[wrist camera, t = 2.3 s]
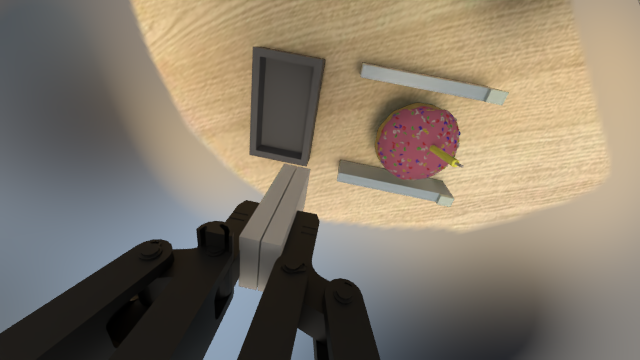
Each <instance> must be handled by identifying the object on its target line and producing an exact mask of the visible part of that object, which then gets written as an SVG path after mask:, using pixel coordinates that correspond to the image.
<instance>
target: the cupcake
mask: <svg viewBox="0 0 640 360" xmlns="http://www.w3.org/2000/svg"><path fill="white" fill-rule="evenodd" d="M456 121H457V119H456V118H454V117H453V115H452V114H451V113H450V112H448V111H447V110H442V109H440V108H438V107H436V106H434V105H431V104H424V103H414V104H410V105H408V106H405V107H403V108H401V109H398V110H396V111H394V112H392V113H391V114H390V115H389V116H388V117H387V119H386V120H385V121H384V122H383V123H382V124H381V126H380V127H379V129H378V132H377V137H376V140H375V149H376V154H377V156H378V159H379V160H380V162H381V163H382V164H383V166H384V167H385V168H386V169H387V170H388V171H389V172H390V173H392V174H393V175H394V176H396V177H398V178H400V179H404V180H408V181H409V180H413V181H415V180H418V179H424V178H425V180H426V179H427V178H428V177H430V176H432V175H435V174H437V173H438V172H440V171H441V170H442V169H445V168H446V167H447V166H448V164H450V165H451V166H453V167H457V166H459V167H464V166H463V165H461V164H459V161H458V160H457V159H455V158H454V157H455V153H456V152H457V148H458V147H459V135H460V134H459V133H460V132H459V129H458V125H457V122H456Z"/></svg>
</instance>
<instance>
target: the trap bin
mask: <svg viewBox="0 0 640 360" xmlns="http://www.w3.org/2000/svg"><path fill="white" fill-rule="evenodd" d="M324 65H325V59H321V58H316V57H311V56H306V55H300V54H295V53H290V52H285V51H280V50H274V49H269V48H264V47H253V62H252V93H251V124H250V155H253V156H258V157H263V158H268V159H273V160H278V161H282V162H287V163H292V164H297V165H302V166H307V164H308V161H309V159H310V153H311V146H312V140H313V134H314V128H315V121H316V115H317V109H318V103H319V96H320V90H321V84H322V78H323V71H324Z"/></svg>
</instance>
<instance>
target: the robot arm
mask: <svg viewBox="0 0 640 360" xmlns="http://www.w3.org/2000/svg"><path fill="white" fill-rule="evenodd" d="M638 1H639V4H640V0H638ZM309 174H310V169H308V168H303V167H297V166H293V165H288V164H284V165H283V167H282V168H281V170H280V172H279V173H278V175H277V176H276V178H275V180H274V181H273V183H272V184H271V186H270V188H269V189H268V191H267V193H266V194H265V196H264V197H263V199H262V201H261V202H260V203H257V202H253V201H248V200H246V201H244V202H243V203H241V204H239V205H238V206H237V207H236V208H235V210H234V211H233V213H232V214H231V215H230V216H229V218H228V219H227V220H226V222H222V221H213V222H208V223H205V224H203V225H201V226H200V227H199V228H197V240H198V247H197V248H192V249H172V245H171V244H170V243H169V242H168V241H165V240H161V239H160V240H150V241H146V242H143V243H141V244H139V245H137V246H135V247H134V248H132V249H131V250H129V251H128V252H126V253H124V254H123V255H121V256H120V257H118V258H117V259H115V260H114V261H112V262H111V263H109V264H107V265H106V266H104V267H103V268H101V269H100V270H98V271H97V272H95V273H93V274H92V275H90V276H89V277H87V278H86V279H84V280H82V281H81V282H79V283H78V284H76V285H75V286H73V287H72V288H70V289H68V290H67V291H65V292H64V293H63V294H61V295H59V296H58V297H56V298H54V299H53V300H51V301H50V302H48V303H47V304H45V305H44V306H42V307H41V308H39V309H37V310H36V311H34V312H33V313H31V314H30V315H28V316H26V317H25V318H23V319H22V320H20V321H19V322H17V323H16V324H14V325H12V326H11V327H10V328H8V329H7V330H5V331H3V332H2V333H0V360H203V358H204V356H205V354H206V352H207V350H208V348H209V345H210V344H211V341H212V340H213V337H214V336H215V333H216V331H217V329H218V327H219V325H220V323H221V321H222V319H223V317H224V315H225V313H226V310H227V309H228V307H229V305H230V302H231V300H232V298H233V294H234V286H235V284H236V282H237V280H238V278H239V286H240V287H245V288H249V289H254V290H256V289H257V287H258V291H263V294H262V297H261V299H260V302H259V305H258V307H257V310H256V312H255V315H254V317H253V320H252V323H251V325H250V328H249V330H248V333H247V336H246V338H245V341H244V343H243V346H242V348H241V351H240V354H239V356H238V359H237V360H291V355H292V351H293V346H294V341H295V337H296V332H297V328H299V329H300V330H302V331H303V332H305V333H306V334H308V335H309V336H311V337H313V345H314V358H315V360H380V357H379V353H378V350H377V346H376V342H375V339H374V335H373V332H372V328H371V325H370V321H369V318H368V314H367V310H366V307H365V304H364V300H363V296H362V294H361V292H360V290H359V288H358V287H357V286H356V285H355V284H354V283H353V282H351V281H349V280H346V279H341V278H339V279H334V280H332V281H328V280H326V279H324V278H323V277H321V276H320V275H318V274H317V273H316V272H315V270H314V268H313V266H312V255H313V250H314V246H315V241H316V236H317V232H318V227H319V219H318V216H317V214H312V213H308V212H303V209H304V204H305V198H306V192H307V186H308V180H309Z"/></svg>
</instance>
